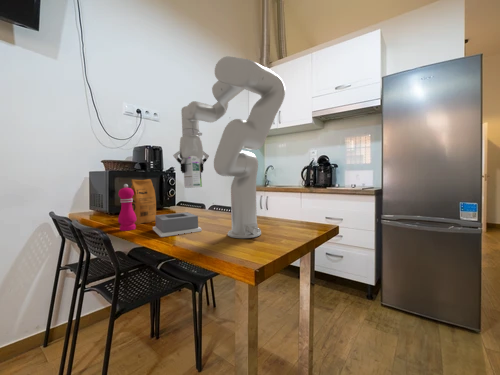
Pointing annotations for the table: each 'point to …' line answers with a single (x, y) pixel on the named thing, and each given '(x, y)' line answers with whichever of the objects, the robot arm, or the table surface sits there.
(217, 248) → the table surface
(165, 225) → the socket
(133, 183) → the coffee package
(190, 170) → the syrup box
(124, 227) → the pepper mill
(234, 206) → the robot arm
